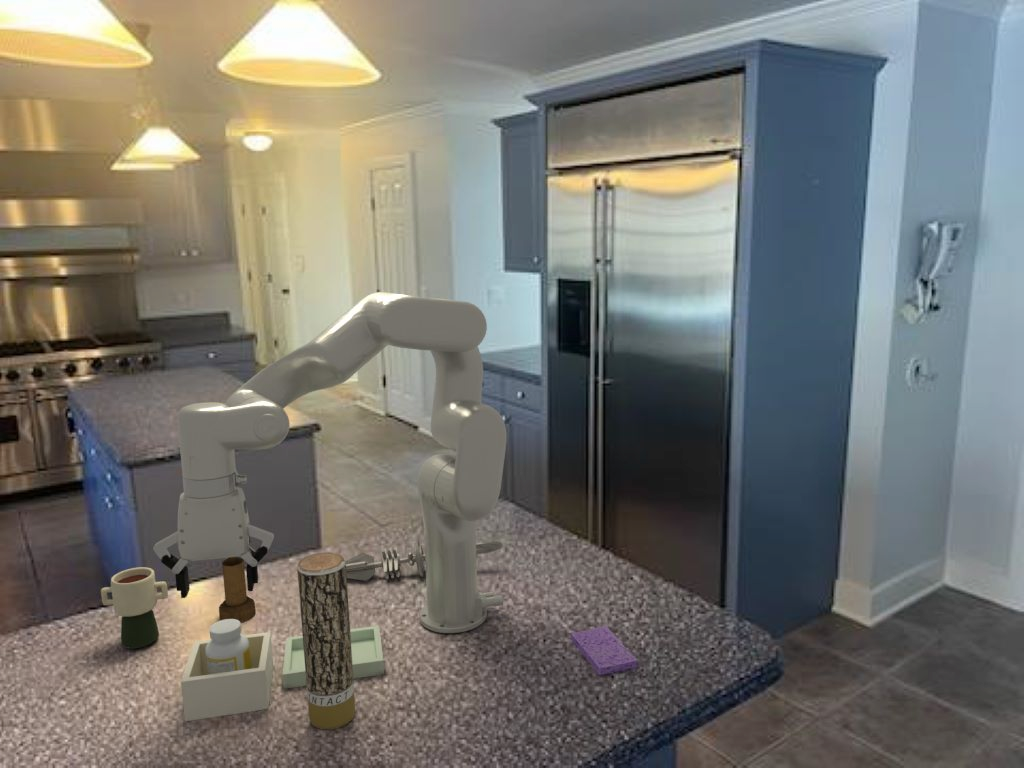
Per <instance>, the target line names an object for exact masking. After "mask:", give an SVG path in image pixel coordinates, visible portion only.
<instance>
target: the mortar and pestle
mask: <svg viewBox="0 0 1024 768" xmlns="http://www.w3.org/2000/svg"><path fill="white" fill-rule="evenodd" d="M221 568H222V576H223V586H224V587H223V588H224V600H223V602H221V604H220V605H219V607H218V613H219V621H221V620H225V619H236V620H238V621H240V623H244V622H246V621H248V620H251V619H252V618H253V617H254V616H255V615H256V603H255V600H254V599H253V598H251V597H250V596H248V594H247V584H246V583H247V581H246V573H245V571H246V569H245V560H244V559H243V558H242V557H240V556H238V557H230V558H225V559H224V560H223V561H222V562H221Z"/></svg>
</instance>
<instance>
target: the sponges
mask: <svg viewBox="0 0 1024 768" xmlns="http://www.w3.org/2000/svg"><path fill="white" fill-rule="evenodd" d="M570 640H571V641H572V642H573V643H574V645H575V646H576V647H577V648H578V650H579V651H580V652H581V654H582V655H583V656H584V658H585V659H586V660H587V661H588V663H589V664H590V665H591V667H592V669H594V671H595V672H596V673H597V675H598V676H602V675H607V674H612V673H616V672H620V671H625V670H629V669H634V668H637V667H638V665H637V664H638V659H637V658H636V657H635V656H634V655H633V654H632V653H631V652H630V651H629V650H627V648H626V647H625V645H624V644H623V643H622V642H621V640H619V638H617V636H616V635H615V633H613V632H612V631H611V629H609V627H608V626H607V625H603V626H600V627H599V626H598V627H595V628H591V629H589V630H588V629H586V630H582V631H576V632H571V633H570Z"/></svg>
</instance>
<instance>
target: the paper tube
mask: <svg viewBox="0 0 1024 768" xmlns="http://www.w3.org/2000/svg"><path fill="white" fill-rule="evenodd" d="M345 561H346V557H345V556H344V555H342V554H340V553H336V552H318V553H314V554H313V553H312V554H310V555H307V556H305V557H303V558H301V559H300V560H299V561H298V562H297V563H296V564H297V565H296V568H297V571H296V572H297V582H298V595H299V607H300V620H301V633H302V635H303V647H304V659H305V672H306V684H307V685H306V695H307V696H306V697H307V705H308V719H309V721H310V723H311V724H312V725H313V726H314V727H315V728H318V729H321V730H335V729H338V728H341V727H344V726H346V725H347V724H348V723H350V722H351V721H352V720H353V718H354V717H355V714H356V703H355V701H356V700H355V683H354V679H353V665H352V650H351V635H350V629H351V624H350V623H351V622H350V606H349V594H348V593H349V591H348V580H347V579H348V578H347V575H346V562H345Z"/></svg>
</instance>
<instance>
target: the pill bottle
mask: <svg viewBox="0 0 1024 768" xmlns="http://www.w3.org/2000/svg"><path fill="white" fill-rule="evenodd" d="M241 623H242V622H241ZM241 623H240V621H238V620H236V619H225V620H219V621H216V622H214V623H213V624H211V625H210V627H209V629H208V631H209V632H208V633H209V637H210V639H209V640H210V641H209V643H208V644H207V646H206V649H205V653H206V662H207V671H208V675H209V674H217V673H224V672H231V671H238V670H246V669H251V658H250V649H249V641H248V639H247V637H246V636H245V635H246V634H243V633H242V631H243V630H242V624H241Z"/></svg>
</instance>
